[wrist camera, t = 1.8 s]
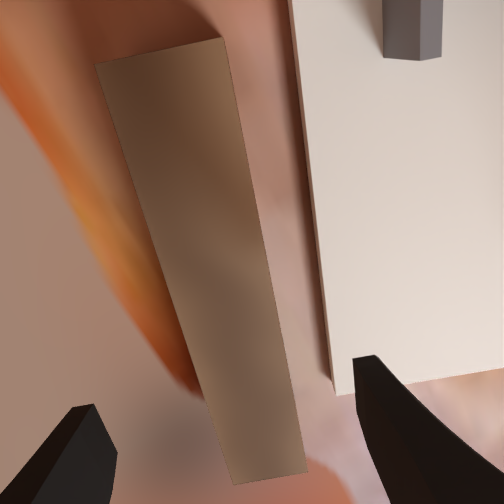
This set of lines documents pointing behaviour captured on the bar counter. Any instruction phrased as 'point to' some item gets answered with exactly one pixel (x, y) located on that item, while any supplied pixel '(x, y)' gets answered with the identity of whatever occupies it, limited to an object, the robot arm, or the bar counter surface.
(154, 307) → the bar counter surface
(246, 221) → the rail
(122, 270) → the bar counter surface
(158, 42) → the bar counter surface
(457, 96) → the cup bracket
